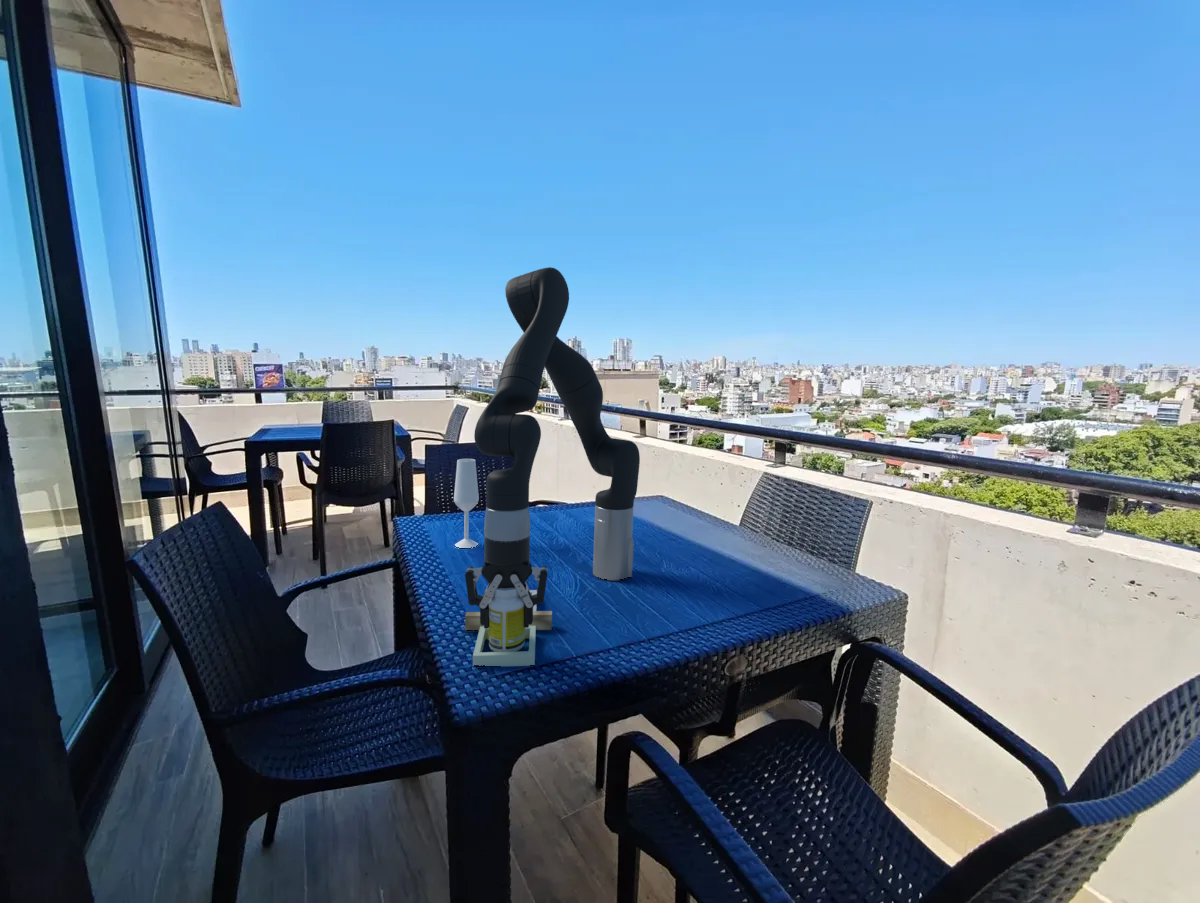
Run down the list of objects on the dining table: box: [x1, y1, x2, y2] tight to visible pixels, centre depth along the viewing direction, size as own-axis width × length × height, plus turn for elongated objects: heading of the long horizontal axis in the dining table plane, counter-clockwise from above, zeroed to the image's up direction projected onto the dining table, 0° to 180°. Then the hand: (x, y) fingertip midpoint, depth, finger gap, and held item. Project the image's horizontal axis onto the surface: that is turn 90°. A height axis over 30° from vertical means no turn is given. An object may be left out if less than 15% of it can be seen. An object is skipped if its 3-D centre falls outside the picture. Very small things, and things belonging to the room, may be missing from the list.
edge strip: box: [464, 610, 553, 632], centre depth 98 cm, size 16×2×3 cm, turn 96°
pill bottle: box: [488, 588, 526, 652], centre depth 89 cm, size 6×6×11 cm
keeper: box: [472, 626, 537, 667], centre depth 90 cm, size 10×10×2 cm
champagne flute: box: [453, 458, 480, 549], centre depth 143 cm, size 7×7×24 cm
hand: (506, 625), depth 90 cm, fingers closed on pill bottle, 6 cm apart
